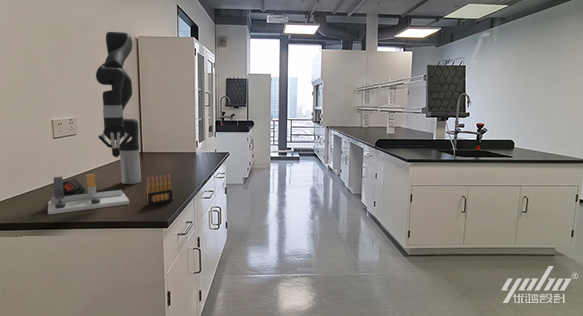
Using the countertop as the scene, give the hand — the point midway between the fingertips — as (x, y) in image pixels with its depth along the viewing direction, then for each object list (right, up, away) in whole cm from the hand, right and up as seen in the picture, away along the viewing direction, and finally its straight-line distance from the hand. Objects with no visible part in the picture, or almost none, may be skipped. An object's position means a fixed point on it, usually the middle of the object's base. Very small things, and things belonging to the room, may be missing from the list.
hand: (116, 156), depth 158 cm
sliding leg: (-7, -16, -7) cm, 19 cm away
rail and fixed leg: (-8, -18, -7) cm, 21 cm away
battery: (-23, -18, +8) cm, 30 cm away
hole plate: (-8, -20, -7) cm, 22 cm away
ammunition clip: (+20, -20, -4) cm, 29 cm away
